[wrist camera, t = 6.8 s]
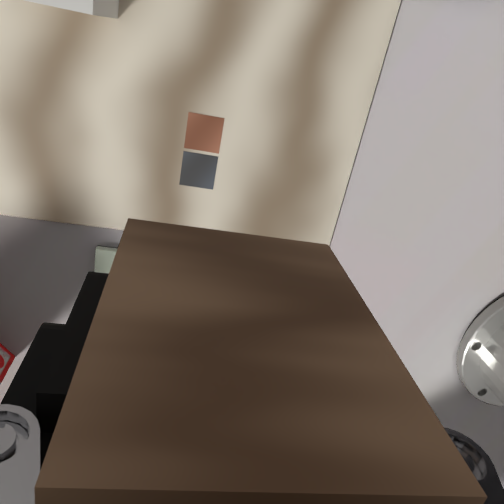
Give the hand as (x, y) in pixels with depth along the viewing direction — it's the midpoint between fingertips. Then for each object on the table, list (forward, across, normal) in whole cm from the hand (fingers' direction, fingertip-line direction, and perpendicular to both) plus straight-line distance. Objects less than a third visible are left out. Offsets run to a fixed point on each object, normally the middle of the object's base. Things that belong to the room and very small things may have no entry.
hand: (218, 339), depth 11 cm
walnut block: (+1, 0, 0) cm, 1 cm away
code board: (+19, +1, -4) cm, 20 cm away
